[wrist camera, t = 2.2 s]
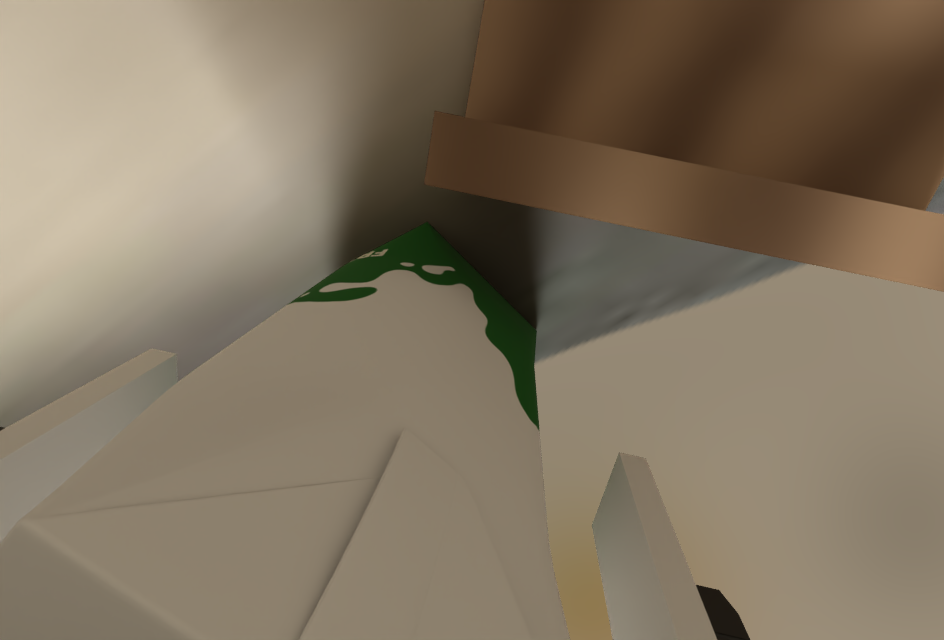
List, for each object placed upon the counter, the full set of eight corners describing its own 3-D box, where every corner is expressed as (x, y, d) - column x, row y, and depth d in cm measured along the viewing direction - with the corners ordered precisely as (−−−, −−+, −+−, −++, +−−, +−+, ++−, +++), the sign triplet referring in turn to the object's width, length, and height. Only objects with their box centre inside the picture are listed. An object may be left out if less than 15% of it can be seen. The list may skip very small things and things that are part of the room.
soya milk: (437, 436, 24) (182, 1387, 6) (303, 319, 23) (-685, 1134, 4) (565, 330, 22) (871, 1486, 3) (424, 188, 20) (-920, 827, 1)
